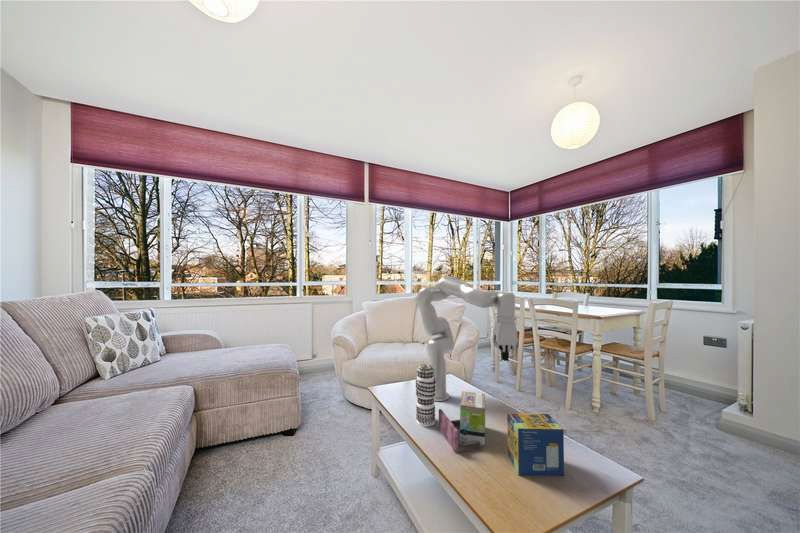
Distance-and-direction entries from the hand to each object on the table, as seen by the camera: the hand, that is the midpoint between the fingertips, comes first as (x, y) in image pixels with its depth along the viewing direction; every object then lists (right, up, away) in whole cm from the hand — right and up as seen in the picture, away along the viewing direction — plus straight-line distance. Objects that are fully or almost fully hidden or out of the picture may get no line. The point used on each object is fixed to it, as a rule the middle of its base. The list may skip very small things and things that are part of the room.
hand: (504, 359), depth 132 cm
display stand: (-24, -27, -15) cm, 39 cm away
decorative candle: (-36, -28, -1) cm, 46 cm away
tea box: (-18, -27, -12) cm, 35 cm away
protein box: (-1, -27, -32) cm, 41 cm away
